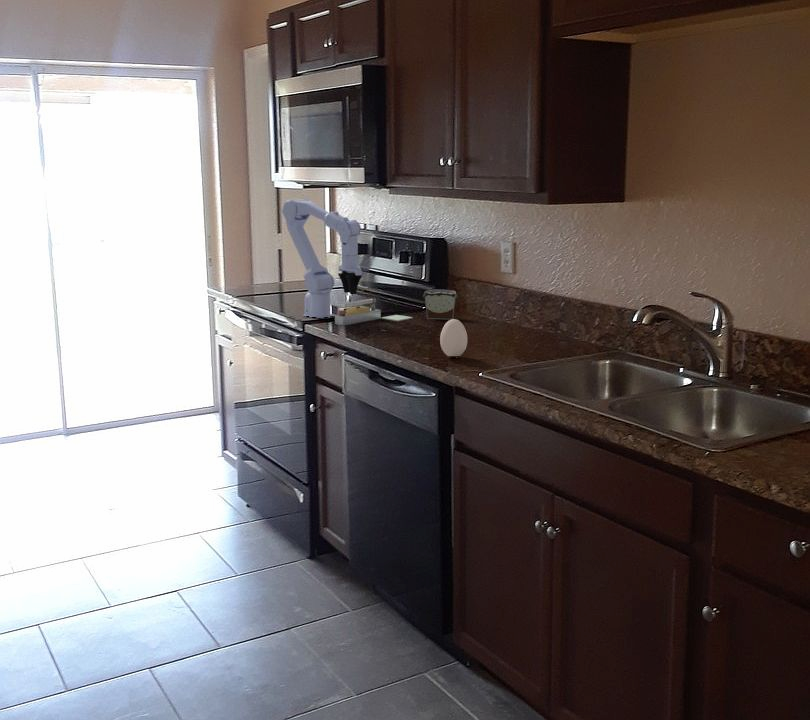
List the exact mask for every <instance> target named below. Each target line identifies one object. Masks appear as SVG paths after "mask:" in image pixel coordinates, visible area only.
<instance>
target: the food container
mask: <svg viewBox="0 0 810 720" xmlns="http://www.w3.org/2000/svg"><path fill="white" fill-rule="evenodd" d="M422 297H423V298H424V300H425V309H426V318H427V319H426V320H452V319H454V314H455V304H456V298H458V295H457V292H456V291H455V290H451V289H428V290H425V291H424V293H423V295H422Z"/></svg>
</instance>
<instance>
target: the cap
mask: <svg viewBox="0 0 810 720" xmlns="http://www.w3.org/2000/svg"><path fill="white" fill-rule="evenodd" d="M370 309H371V306H367V305H366V306H365V305H357V306H351V307H345V313H350V314H362V313H367V312H370Z"/></svg>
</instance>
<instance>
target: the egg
mask: <svg viewBox="0 0 810 720" xmlns="http://www.w3.org/2000/svg"><path fill="white" fill-rule="evenodd" d="M439 341H440V342H439V343H440V348H441V350H442V351H443V353H444V354H445V355H446V356H447V357H449V356H459V357H460V356H461V355H462V354H464V352H465V351H466V349H467V347H468V346H467V345H468V333H467V331H466V328H465V326H464V324H463V323H462V322H461V321H460V320H459V319H455V318H453V319H448V321H447V322H445V324H444V326H443V327H442V330H441V332H440V337H439Z"/></svg>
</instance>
